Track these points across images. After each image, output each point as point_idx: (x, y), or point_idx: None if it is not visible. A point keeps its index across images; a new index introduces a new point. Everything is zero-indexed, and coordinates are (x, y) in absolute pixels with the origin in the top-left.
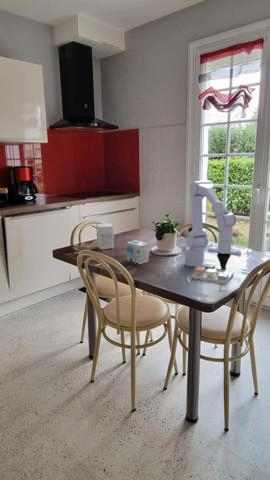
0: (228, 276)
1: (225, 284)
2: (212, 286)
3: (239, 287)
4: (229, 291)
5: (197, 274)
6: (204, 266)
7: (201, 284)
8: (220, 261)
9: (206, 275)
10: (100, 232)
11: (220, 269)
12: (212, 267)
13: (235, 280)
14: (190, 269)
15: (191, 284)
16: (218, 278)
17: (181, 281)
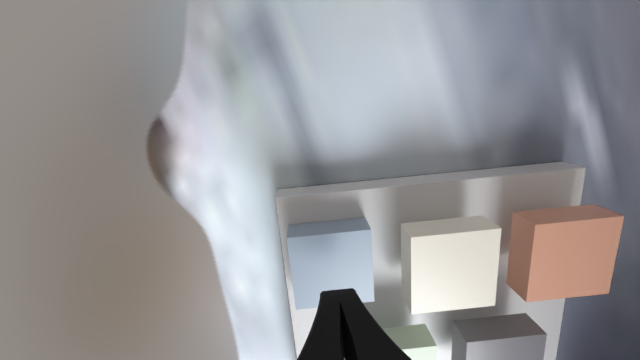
0: None
1: (282, 189)
2: (356, 90)
3: (167, 193)
4: (193, 67)
5: None
6: (544, 332)
7: (453, 79)
8: (387, 355)
9: None
10: None
11: None
12: (467, 345)
13: (252, 300)
14: (614, 316)
15: (533, 27)
16: (354, 219)
17: (633, 44)
